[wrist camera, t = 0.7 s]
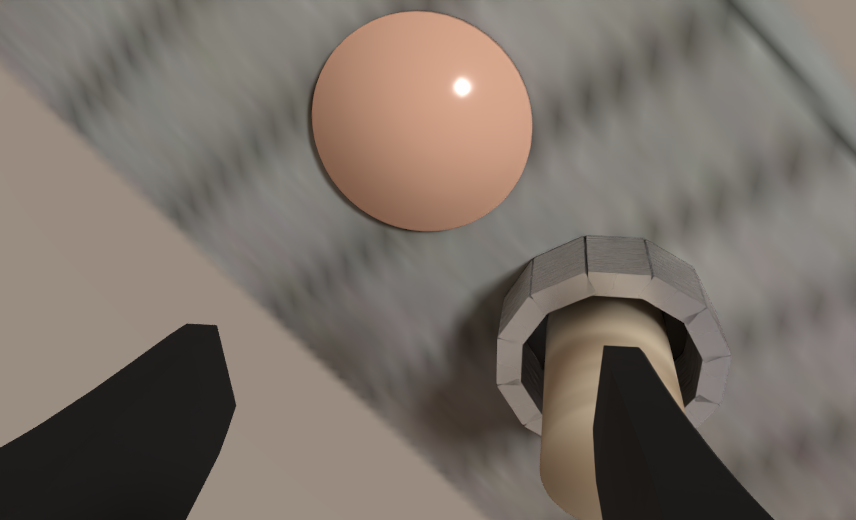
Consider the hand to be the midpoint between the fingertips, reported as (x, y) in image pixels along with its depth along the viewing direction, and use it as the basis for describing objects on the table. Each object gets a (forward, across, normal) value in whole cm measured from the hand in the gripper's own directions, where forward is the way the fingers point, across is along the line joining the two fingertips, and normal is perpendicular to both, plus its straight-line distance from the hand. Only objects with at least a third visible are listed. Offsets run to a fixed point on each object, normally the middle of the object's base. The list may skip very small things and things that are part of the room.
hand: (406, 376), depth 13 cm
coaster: (+11, +1, -1) cm, 11 cm away
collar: (+10, -5, +6) cm, 13 cm away
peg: (+10, -5, +6) cm, 13 cm away
